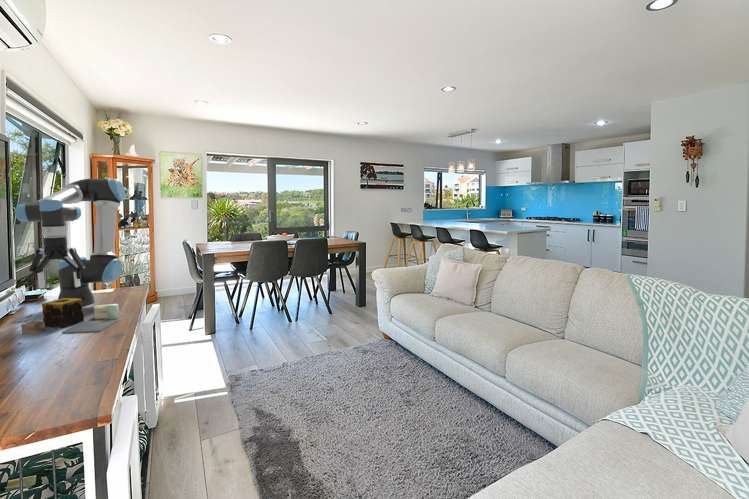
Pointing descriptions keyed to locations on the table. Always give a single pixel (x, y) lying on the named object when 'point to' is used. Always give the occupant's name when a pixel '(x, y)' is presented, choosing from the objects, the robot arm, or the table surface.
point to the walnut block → (33, 327)
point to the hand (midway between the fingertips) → (60, 287)
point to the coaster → (90, 326)
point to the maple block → (100, 311)
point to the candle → (62, 312)
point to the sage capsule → (112, 311)
